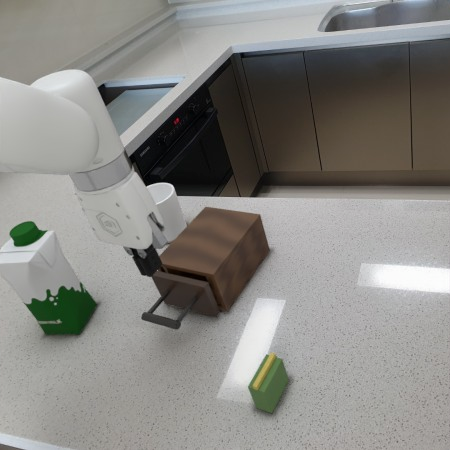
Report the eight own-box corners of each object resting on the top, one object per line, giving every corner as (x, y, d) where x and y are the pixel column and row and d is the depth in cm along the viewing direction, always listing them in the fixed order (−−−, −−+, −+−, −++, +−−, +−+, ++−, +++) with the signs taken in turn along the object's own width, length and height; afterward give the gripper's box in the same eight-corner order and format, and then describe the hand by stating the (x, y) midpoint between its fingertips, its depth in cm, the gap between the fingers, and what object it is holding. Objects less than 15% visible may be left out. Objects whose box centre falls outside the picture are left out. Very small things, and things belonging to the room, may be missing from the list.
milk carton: (104, 300, 88) (53, 217, 76) (81, 339, 81) (21, 254, 69) (63, 302, 89) (7, 221, 77) (37, 340, 82) (-29, 257, 70)
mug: (196, 231, 101) (181, 192, 95) (159, 251, 97) (141, 212, 91) (175, 212, 108) (160, 175, 102) (140, 230, 105) (122, 192, 99)
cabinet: (227, 312, 80) (213, 274, 75) (170, 297, 85) (153, 261, 80) (270, 250, 91) (260, 214, 86) (217, 241, 97) (205, 206, 91)
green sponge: (289, 379, 67) (281, 354, 64) (272, 413, 64) (262, 389, 60) (273, 375, 68) (265, 350, 65) (255, 408, 65) (245, 383, 61)
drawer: (194, 348, 74) (179, 318, 69) (140, 332, 79) (124, 303, 74) (258, 257, 89) (250, 228, 85) (210, 248, 94) (200, 220, 89)
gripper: (40, 180, 60) (100, 278, 72) (125, 191, 54) (176, 297, 65) (81, 150, 65) (132, 246, 77) (163, 158, 59) (205, 261, 70)
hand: (152, 269), depth 71 cm, fingers closed
